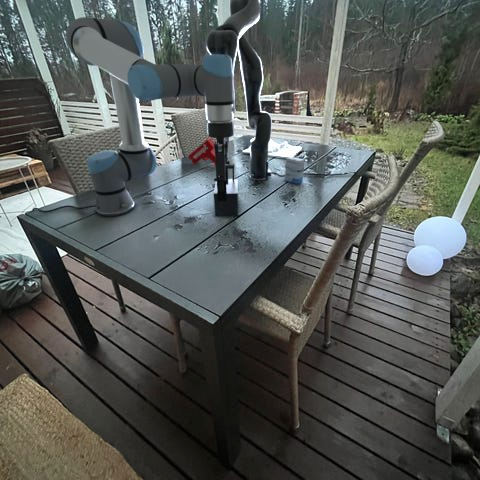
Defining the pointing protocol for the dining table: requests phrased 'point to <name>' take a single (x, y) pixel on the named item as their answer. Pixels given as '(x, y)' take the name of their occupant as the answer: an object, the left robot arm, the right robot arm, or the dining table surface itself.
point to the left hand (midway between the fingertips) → (223, 192)
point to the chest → (226, 206)
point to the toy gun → (204, 152)
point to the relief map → (280, 150)
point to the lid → (230, 185)
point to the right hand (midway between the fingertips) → (225, 144)
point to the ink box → (294, 170)
